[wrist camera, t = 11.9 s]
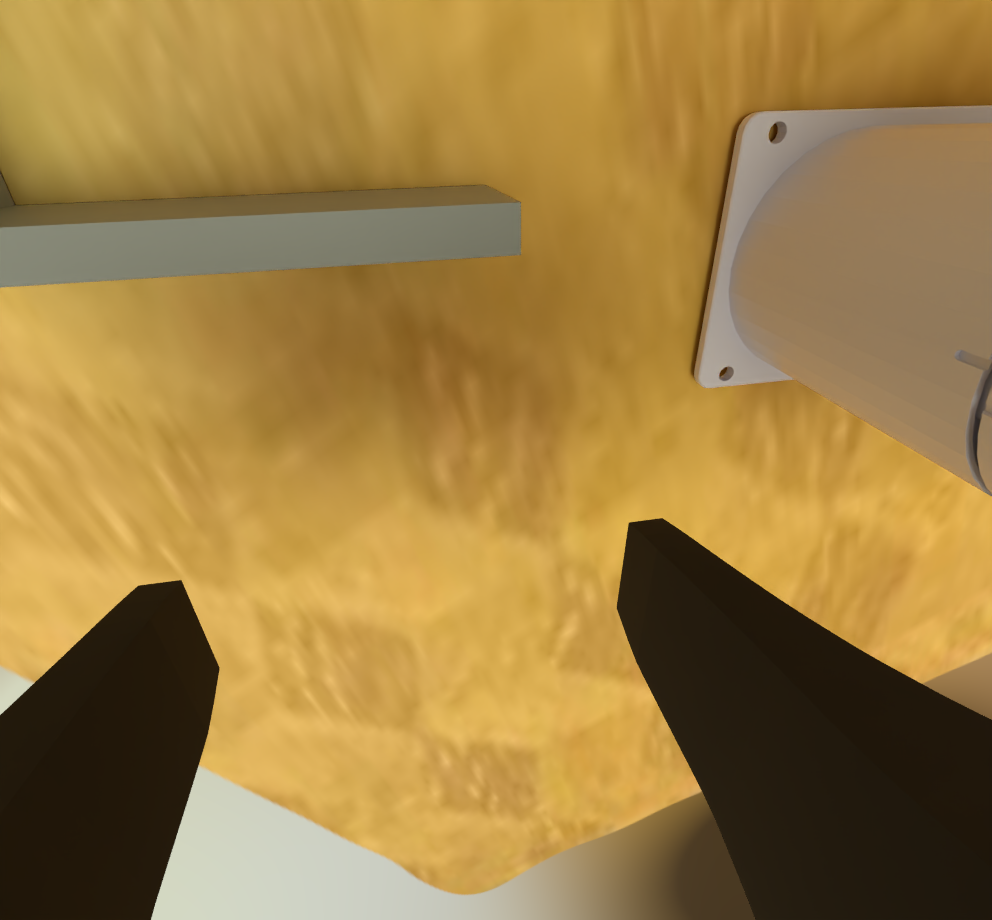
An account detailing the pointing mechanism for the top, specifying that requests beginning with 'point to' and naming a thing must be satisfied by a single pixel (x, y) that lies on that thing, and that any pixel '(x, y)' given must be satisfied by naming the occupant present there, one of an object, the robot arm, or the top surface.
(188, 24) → the top surface
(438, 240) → the open side box
